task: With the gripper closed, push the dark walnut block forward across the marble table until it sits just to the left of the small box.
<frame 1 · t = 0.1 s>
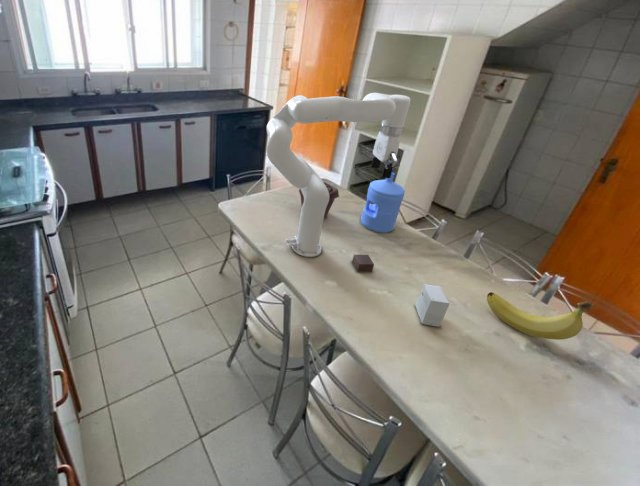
hand: (380, 172, 127), 37 cm above the table, tool pointing down, fingers open, 9 cm apart
walnut block: (361, 267, 133), on the table
case: (314, 214, 169), on the table
small box: (426, 316, 111), on the table
banana: (519, 328, 108), on the table
water jug: (376, 224, 162), on the table
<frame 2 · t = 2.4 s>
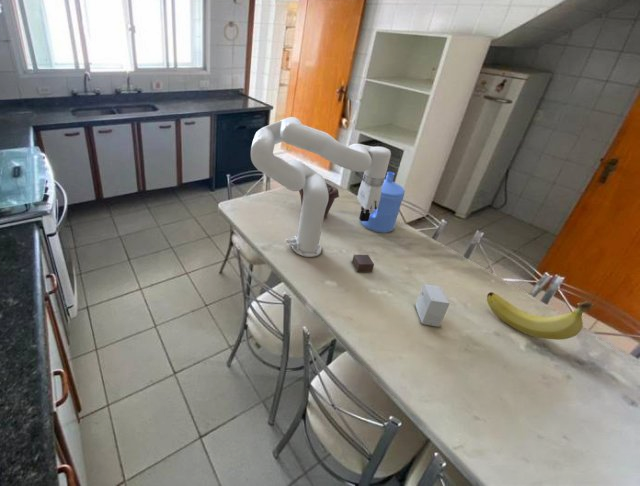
hand: (363, 220, 133), 17 cm above the table, tool pointing down, fingers closed
nothing on the table moved.
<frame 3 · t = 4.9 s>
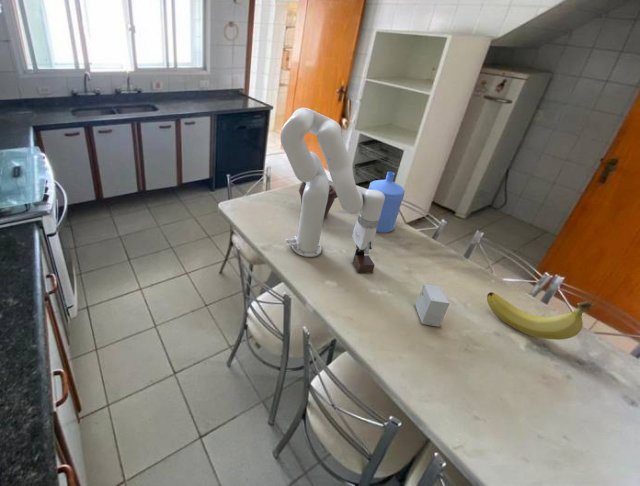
hand: (358, 257, 136), 1 cm above the table, tool pointing down, fingers closed
walnut block: (362, 267, 132), on the table, touching gripper
everything else where it was.
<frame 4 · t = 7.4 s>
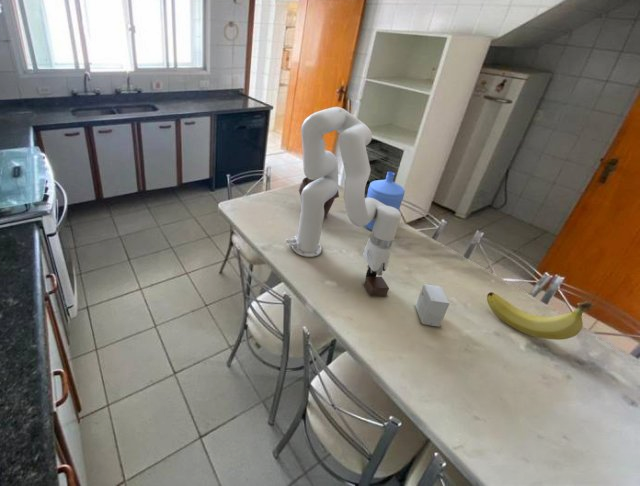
hand: (370, 278, 125), 1 cm above the table, tool pointing down, fingers closed
walnut block: (374, 290, 121), on the table, touching gripper
everything else where it was.
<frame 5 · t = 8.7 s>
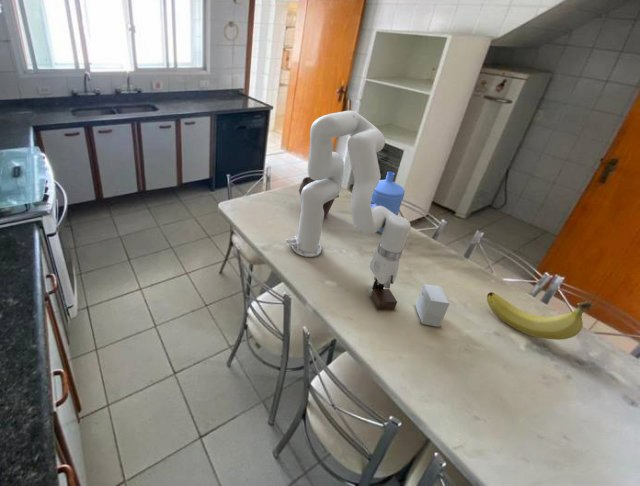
hand: (376, 290, 120), 1 cm above the table, tool pointing down, fingers closed
walnut block: (382, 303, 115), on the table, touching gripper
everything else where it was.
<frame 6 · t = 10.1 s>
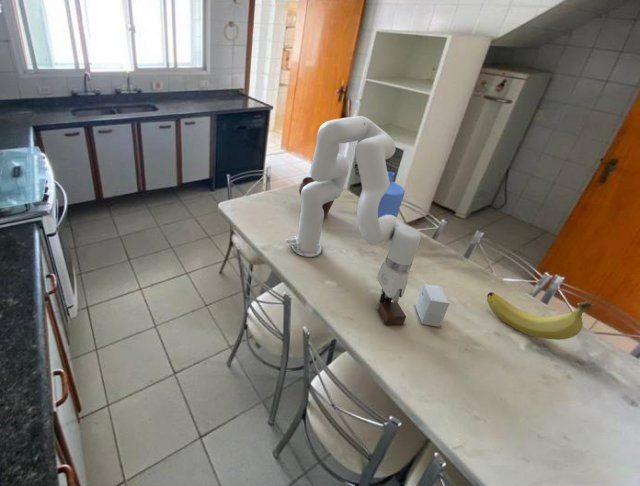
hand: (384, 303, 114), 1 cm above the table, tool pointing down, fingers closed
walnut block: (390, 317, 110), on the table, touching gripper
everything else where it was.
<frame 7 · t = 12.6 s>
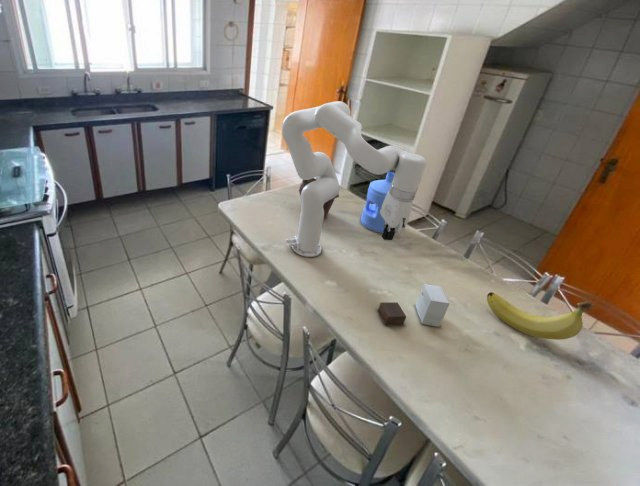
hand: (386, 238, 113), 22 cm above the table, tool pointing down, fingers closed
walnut block: (390, 317, 110), on the table
everything else where it was.
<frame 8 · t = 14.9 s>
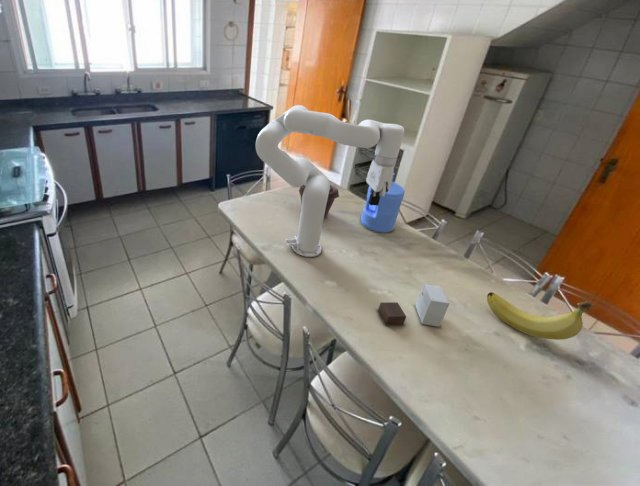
hand: (373, 204, 124), 27 cm above the table, tool pointing down, fingers closed
nothing on the table moved.
at the end: walnut block inside the target area on the table beside the small box (0.6 cm from its centre), on the table; walnut block tilted 0°; small box moved 0.2 cm from its start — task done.
